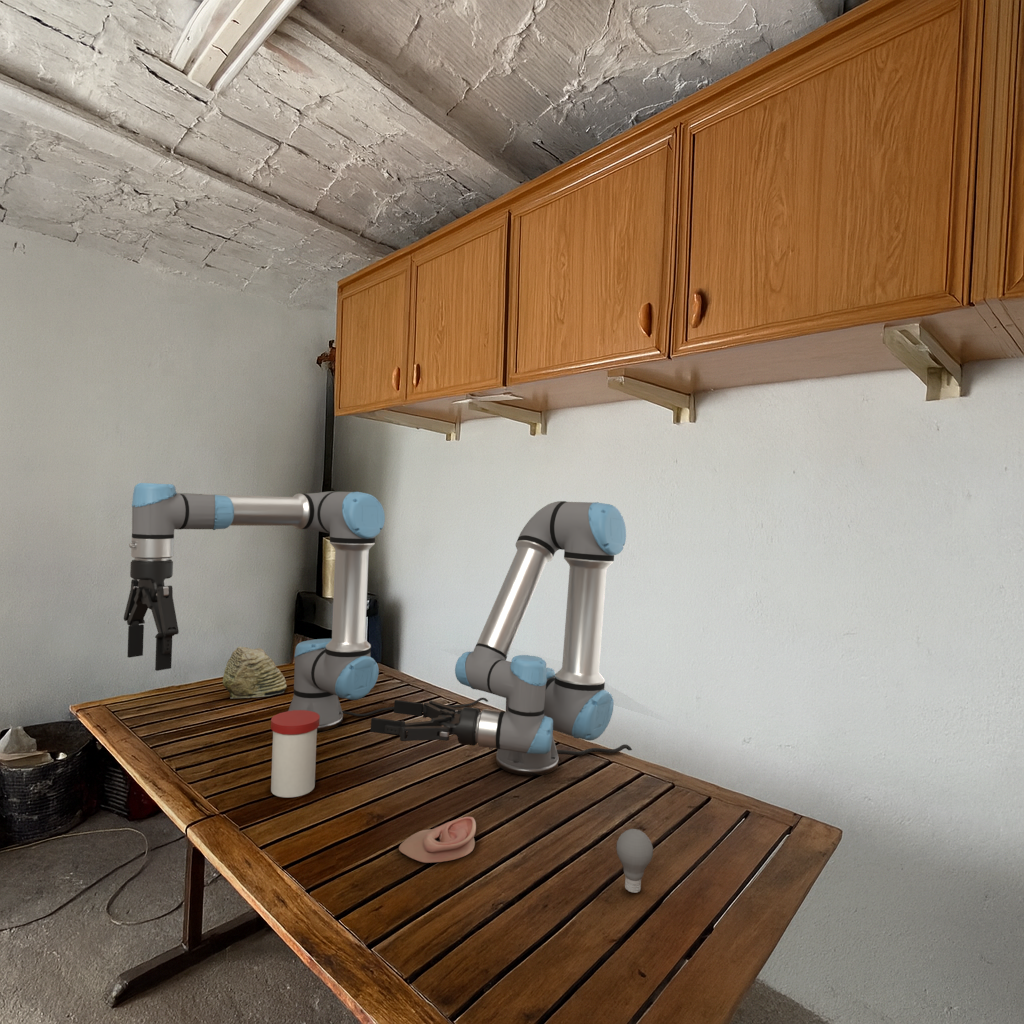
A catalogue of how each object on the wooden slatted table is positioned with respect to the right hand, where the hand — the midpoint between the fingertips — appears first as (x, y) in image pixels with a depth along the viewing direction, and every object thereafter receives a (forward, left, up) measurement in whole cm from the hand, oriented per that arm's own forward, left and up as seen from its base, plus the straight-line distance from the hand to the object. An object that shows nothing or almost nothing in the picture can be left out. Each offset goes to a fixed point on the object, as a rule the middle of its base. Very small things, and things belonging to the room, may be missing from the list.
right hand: (383, 715), depth 137 cm
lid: (+18, -6, -2) cm, 19 cm away
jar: (+18, -6, -17) cm, 25 cm away
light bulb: (-35, +46, -17) cm, 61 cm away
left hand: (+47, -9, +11) cm, 49 cm away
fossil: (+29, -75, -17) cm, 82 cm away
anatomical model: (-7, +25, -17) cm, 31 cm away
